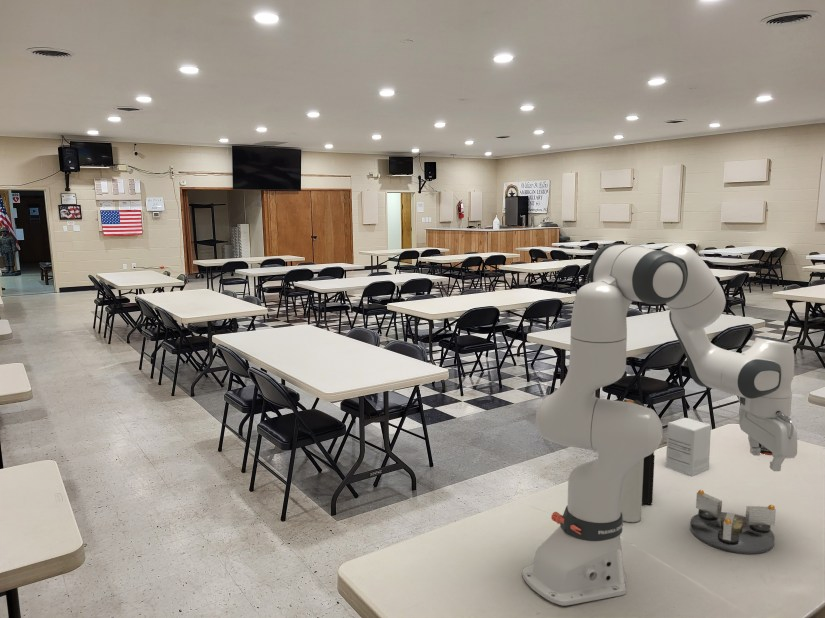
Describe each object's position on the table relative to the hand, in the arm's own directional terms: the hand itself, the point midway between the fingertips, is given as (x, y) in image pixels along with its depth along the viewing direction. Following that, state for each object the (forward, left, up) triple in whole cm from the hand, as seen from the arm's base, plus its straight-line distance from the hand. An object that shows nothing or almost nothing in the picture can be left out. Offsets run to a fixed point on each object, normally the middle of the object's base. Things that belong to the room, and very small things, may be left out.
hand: (764, 462), depth 147 cm
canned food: (+50, +32, -19) cm, 63 cm away
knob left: (-6, +10, -17) cm, 20 cm away
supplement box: (+17, +35, -19) cm, 44 cm away
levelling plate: (-6, +3, -18) cm, 20 cm away
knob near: (-11, 0, -17) cm, 20 cm away
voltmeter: (-10, +31, -19) cm, 38 cm away
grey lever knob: (0, 0, -17) cm, 17 cm away
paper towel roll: (-20, +21, -19) cm, 35 cm away
